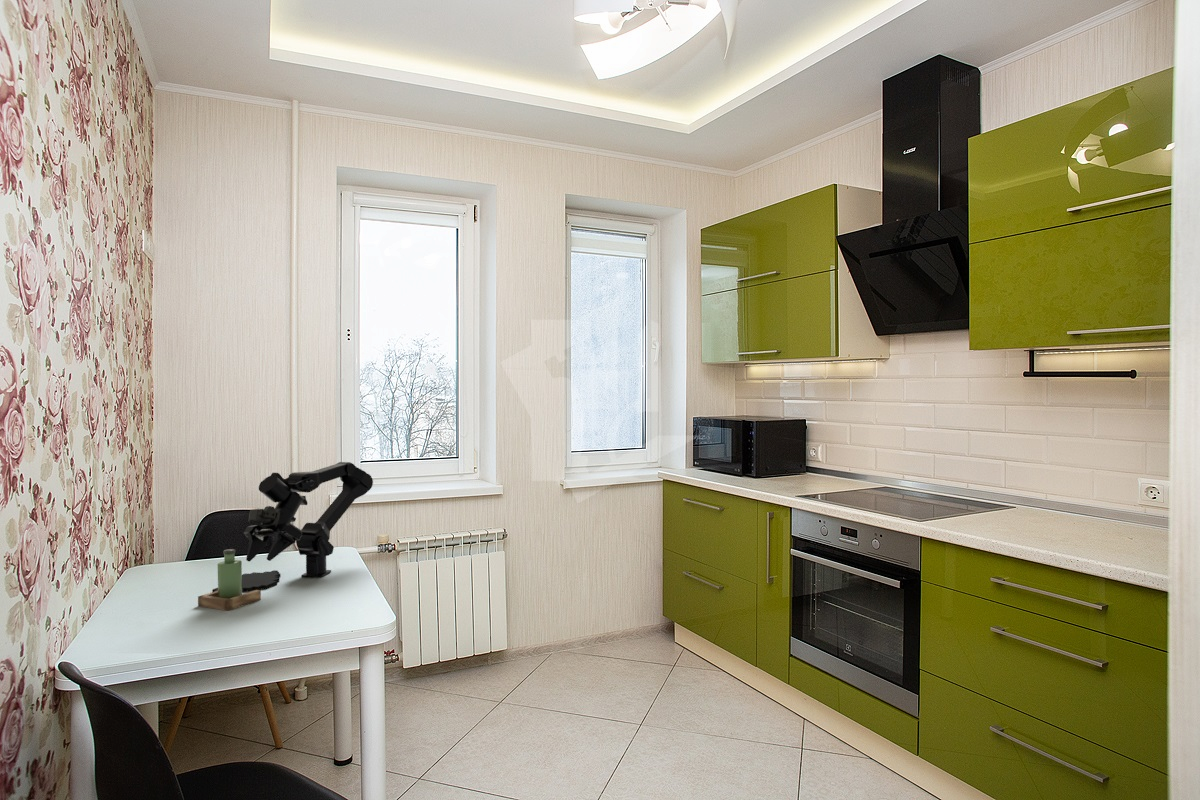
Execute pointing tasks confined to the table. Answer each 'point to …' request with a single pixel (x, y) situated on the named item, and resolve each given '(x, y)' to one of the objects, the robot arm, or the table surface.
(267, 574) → the decorative item
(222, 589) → the bottle
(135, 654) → the table surface
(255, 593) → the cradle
